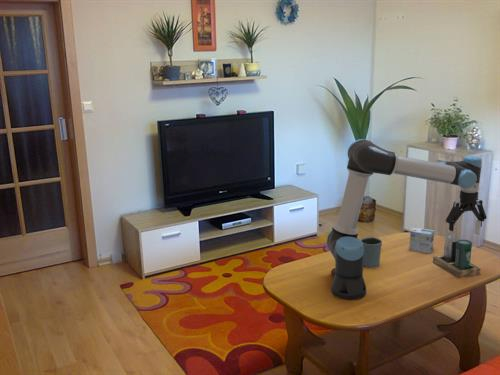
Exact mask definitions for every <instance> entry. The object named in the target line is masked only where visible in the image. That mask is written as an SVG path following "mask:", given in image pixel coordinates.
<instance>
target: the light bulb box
mask: <svg viewBox="0 0 500 375" xmlns="http://www.w3.org/2000/svg"><path fill="white" fill-rule="evenodd" d="M409 234H410V235H409V251H412V252H413V251H414V252H419V253H425V254H431V253H432V251H433V249H434V238H435V236H434V235H435V229H434V230H433V229H427V228H419V227H416V226H415V227H413V228H412V229H410V233H409Z"/></svg>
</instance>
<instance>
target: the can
mask: <svg viewBox="0 0 500 375" xmlns="http://www.w3.org/2000/svg"><path fill="white" fill-rule="evenodd" d="M472 246H473V243H472V241H470V240H468V239H459V240H458V241H457V247H456V259H455V267H456V268H458V269H460V270H466V269H470V263H471V255H472V249H473V247H472Z"/></svg>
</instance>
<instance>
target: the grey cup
mask: <svg viewBox="0 0 500 375" xmlns="http://www.w3.org/2000/svg"><path fill="white" fill-rule="evenodd" d="M360 241H361V242H362V243H363V247H364V254H363V267H366V268H376V267H378V266H380V259H381V251H382V244H383V241H382V239H380V238H378V237H371V236H369V237H363V238H361V239H360Z"/></svg>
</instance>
